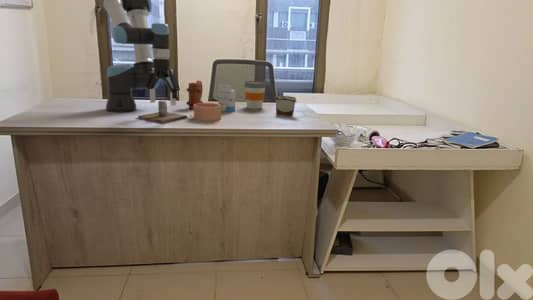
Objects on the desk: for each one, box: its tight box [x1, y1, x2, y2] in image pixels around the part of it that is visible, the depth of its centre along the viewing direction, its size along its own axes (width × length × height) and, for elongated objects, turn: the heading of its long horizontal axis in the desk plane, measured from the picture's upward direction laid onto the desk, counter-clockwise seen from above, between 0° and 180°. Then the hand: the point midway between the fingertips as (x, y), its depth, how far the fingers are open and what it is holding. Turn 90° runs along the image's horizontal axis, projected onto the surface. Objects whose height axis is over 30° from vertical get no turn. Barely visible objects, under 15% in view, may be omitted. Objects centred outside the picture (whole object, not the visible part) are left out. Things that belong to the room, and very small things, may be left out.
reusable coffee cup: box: [243, 80, 267, 110], centre depth 226 cm, size 13×13×15 cm
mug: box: [186, 80, 204, 110], centre depth 216 cm, size 15×8×15 cm, turn 168°
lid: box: [138, 100, 188, 124], centre depth 185 cm, size 16×16×8 cm
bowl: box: [193, 102, 222, 122], centre depth 190 cm, size 13×13×7 cm
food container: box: [274, 95, 297, 117], centre depth 209 cm, size 12×6×10 cm, turn 65°
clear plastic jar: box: [217, 83, 236, 113], centre depth 213 cm, size 9×5×15 cm, turn 68°
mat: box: [133, 116, 191, 126], centre depth 186 cm, size 19×19×1 cm
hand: (162, 104), depth 184 cm, fingers open, 13 cm apart
